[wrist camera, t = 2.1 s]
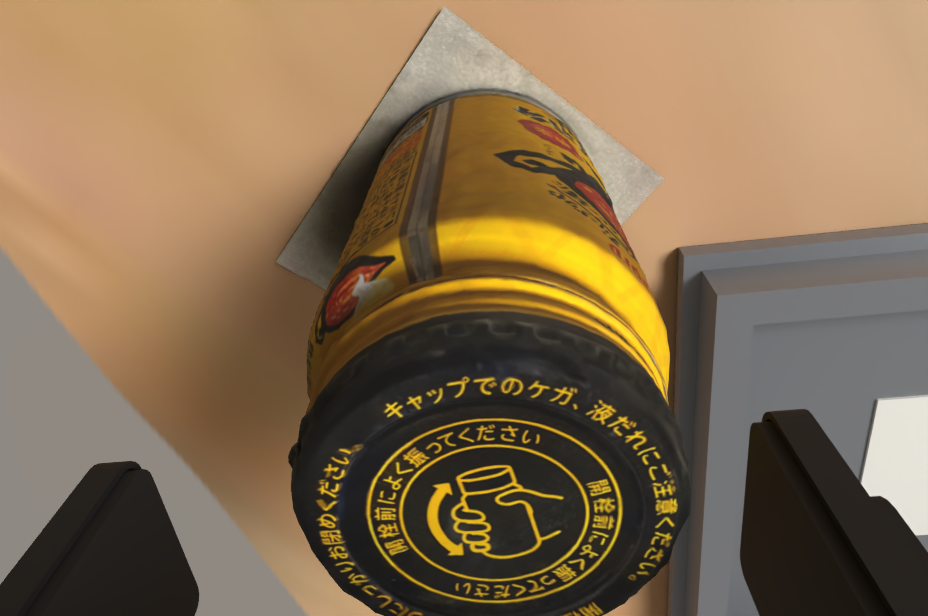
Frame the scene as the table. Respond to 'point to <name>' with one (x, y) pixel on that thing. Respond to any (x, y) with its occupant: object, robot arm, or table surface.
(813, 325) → the dock
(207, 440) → the table surface
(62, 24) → the table surface
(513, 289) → the condiment
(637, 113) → the table surface
